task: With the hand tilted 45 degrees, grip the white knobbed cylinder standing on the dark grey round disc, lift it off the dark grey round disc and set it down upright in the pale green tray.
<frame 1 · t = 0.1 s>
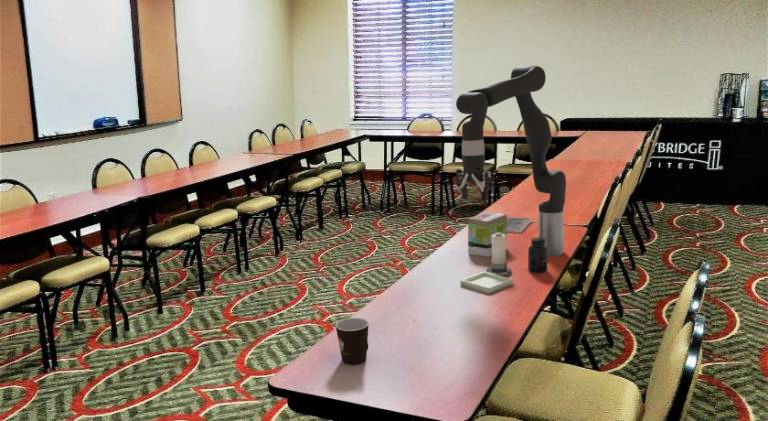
hand: (474, 200, 221), 29 cm above the table, tool pointing down, fingers open, 8 cm apart
white knobbed cylinder: (498, 262, 235), point 4 cm above the table, touching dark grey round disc
tea box: (487, 251, 263), on the table
tray: (486, 284, 223), on the table
coffee mug: (354, 362, 170), on the table
supplement bottle: (537, 271, 236), on the table
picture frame: (508, 227, 301), on the table
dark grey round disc: (498, 272, 235), on the table
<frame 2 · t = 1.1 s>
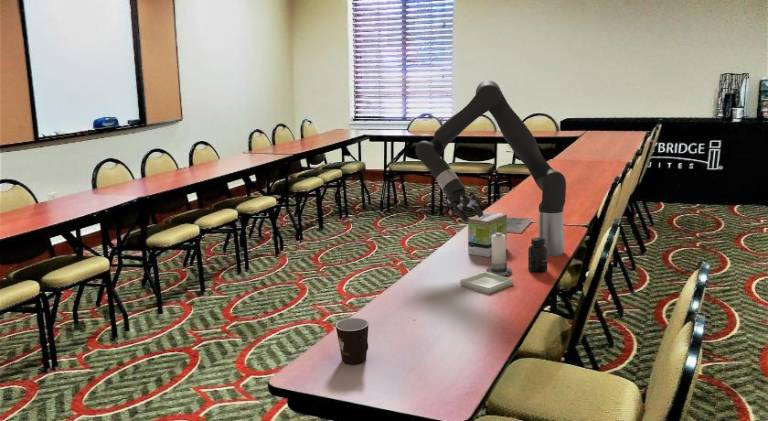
hand: (474, 218, 239), 19 cm above the table, tool tilted 45°, fingers open, 8 cm apart
nothing on the table moved.
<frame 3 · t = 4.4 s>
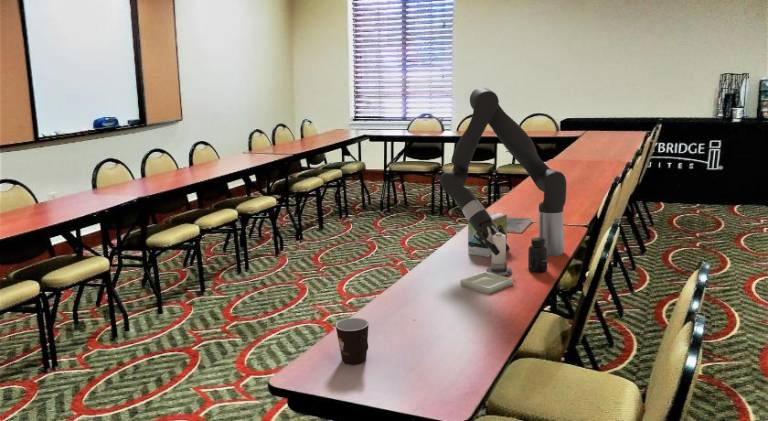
hand: (502, 252, 232), 8 cm above the table, tool tilted 45°, fingers closed on white knobbed cylinder, 5 cm apart
white knobbed cylinder: (498, 262, 235), point 4 cm above the table, touching gripper, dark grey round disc
everything else where it was.
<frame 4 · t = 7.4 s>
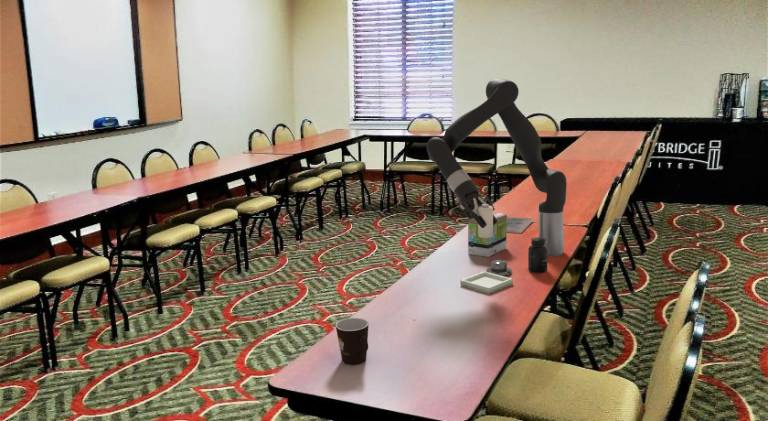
hand: (489, 224, 217), 22 cm above the table, tool tilted 45°, fingers closed on white knobbed cylinder, 5 cm apart
white knobbed cylinder: (485, 235, 220), point 17 cm above the table, touching gripper
everything else where it was.
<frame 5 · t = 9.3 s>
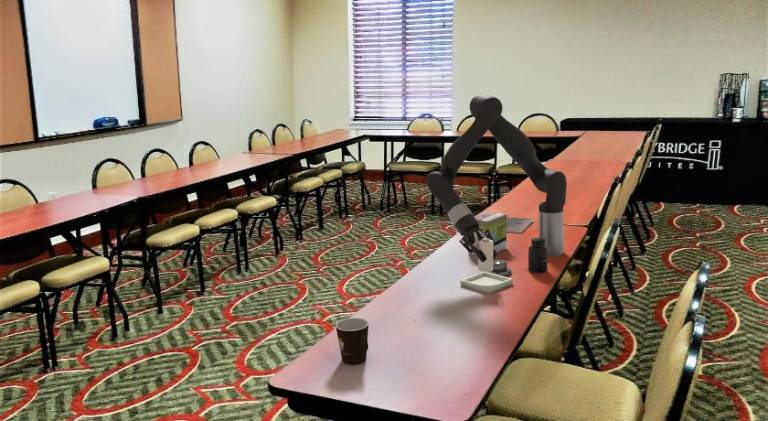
hand: (490, 258, 220), 10 cm above the table, tool tilted 45°, fingers closed on white knobbed cylinder, 5 cm apart
white knobbed cylinder: (485, 269, 222), point 6 cm above the table, touching gripper
everything else where it was.
when the fingers open (6 cm above the table, at t = 10.5 s): white knobbed cylinder drops 1 cm, resting on tray.
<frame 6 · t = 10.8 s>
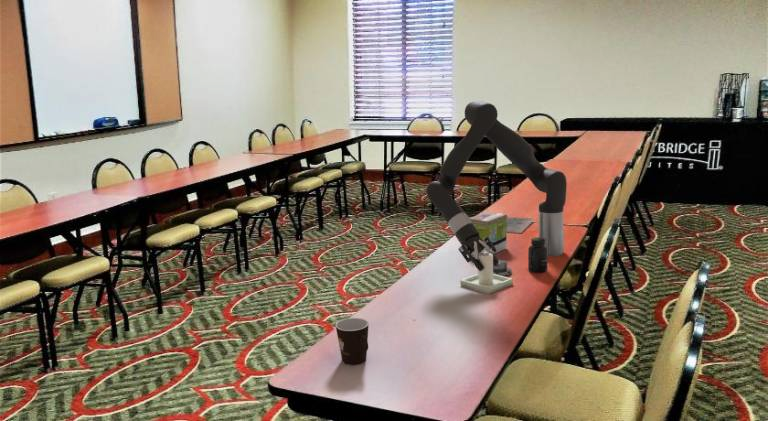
hand: (489, 267, 221), 7 cm above the table, tool tilted 45°, fingers open, 7 cm apart
white knobbed cylinder: (485, 282, 223), point 1 cm above the table, touching tray
everything else where it was.
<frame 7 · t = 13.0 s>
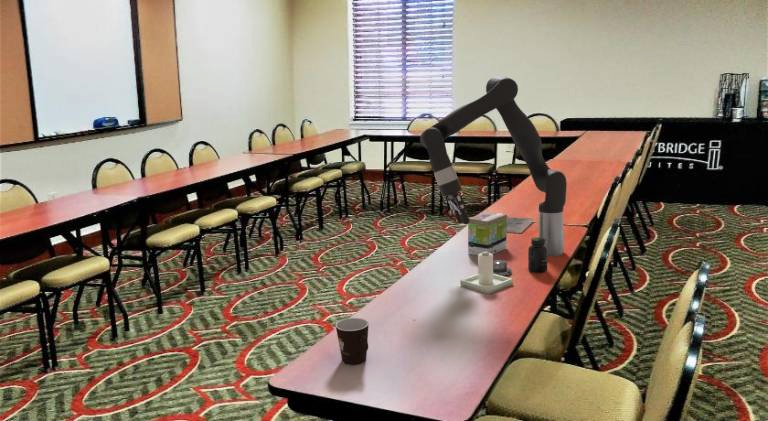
hand: (464, 223, 233), 19 cm above the table, tool tilted 20°, fingers open, 8 cm apart
nothing on the table moved.
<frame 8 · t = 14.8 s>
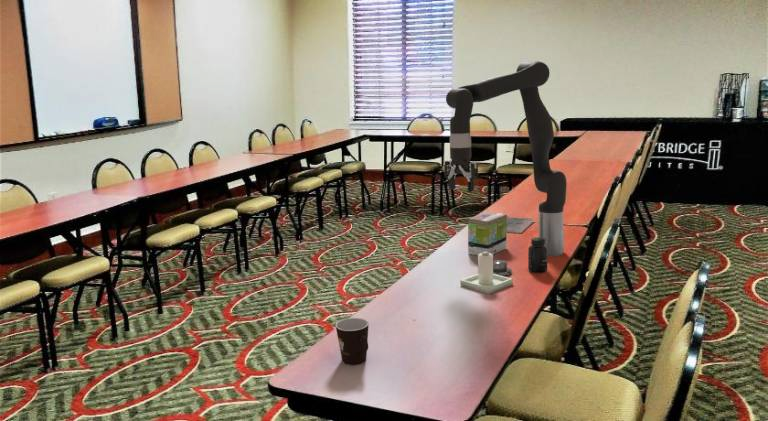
hand: (461, 190, 234), 30 cm above the table, tool pointing down, fingers open, 8 cm apart
nothing on the table moved.
at the end: white knobbed cylinder inside the target area on the tray (0.2 cm from its centre), point 0.8 cm above the tray's base; white knobbed cylinder tilted 0°; the gripper is holding nothing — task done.
